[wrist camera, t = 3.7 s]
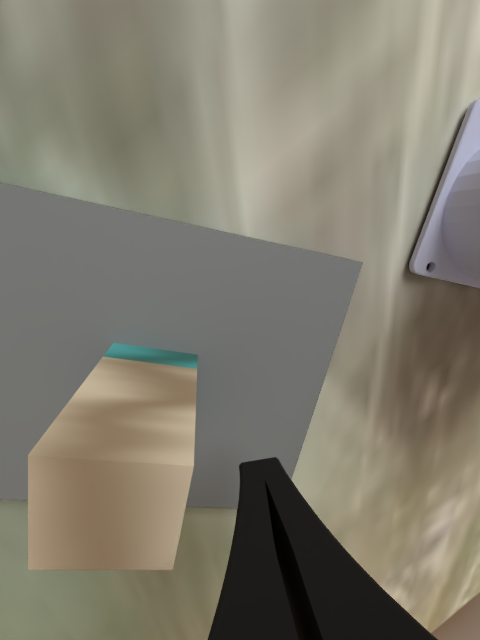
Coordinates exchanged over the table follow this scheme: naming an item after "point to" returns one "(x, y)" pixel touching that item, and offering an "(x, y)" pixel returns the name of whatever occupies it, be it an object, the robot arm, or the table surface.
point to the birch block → (116, 466)
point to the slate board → (163, 327)
